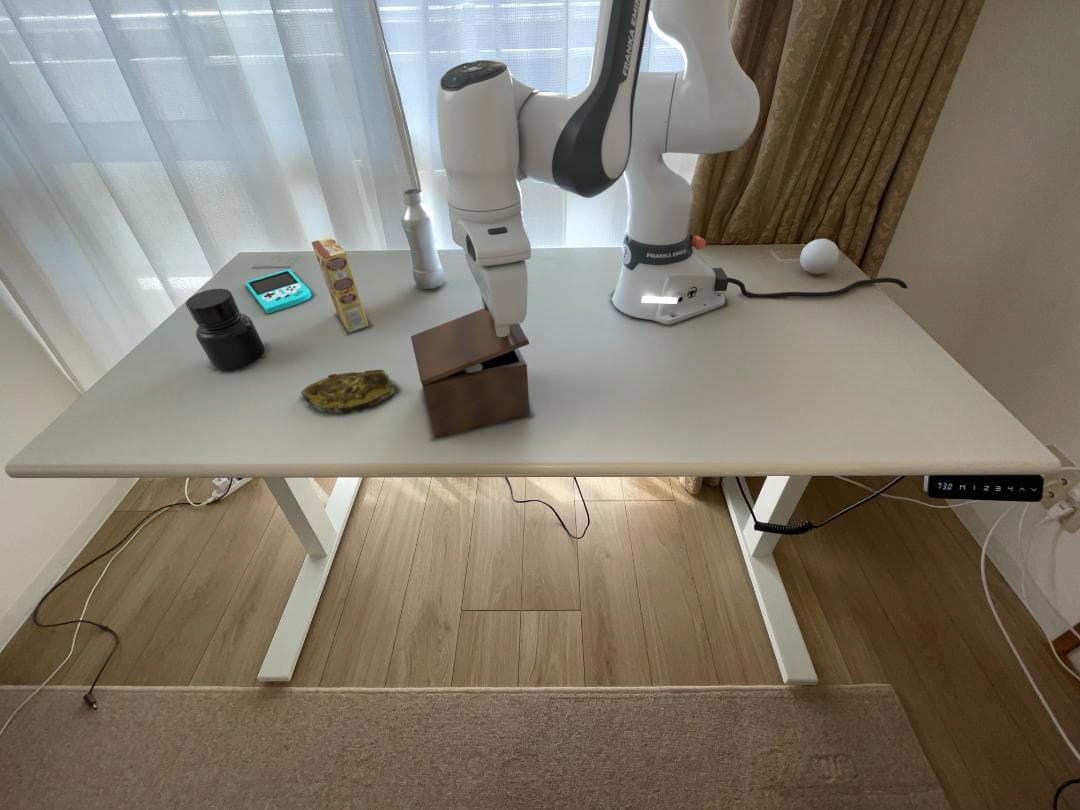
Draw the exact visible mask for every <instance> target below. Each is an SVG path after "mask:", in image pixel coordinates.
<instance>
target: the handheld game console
mask: <svg viewBox="0 0 1080 810" xmlns="http://www.w3.org/2000/svg"><path fill="white" fill-rule="evenodd" d="M245 286H246V287H247V289H248V290H249V291H250V292H251V294H252V295H253V297H254V298H255V299H256V300H257V302H258V303H259V305H260V306H261V307H260V308H262V309H263V310H264V311H265V313H266V314H272V313H275V312H278V311H281V310H284V309H287V308H290V307H293V306H296V305H298V304H301V303H304V302H306V301H308V300H309V299H310V298H312V293H311V290H310V289H309V288H308V287H307V285H305V283H304V282H303V281H302V280H301V279H299V277H298V276H297V275H296V274H295V273H294V272H293V271H292V270H291V269H290V268H287V269H284V270H281V271H277V272H274V273H271V274H267V275H264V276H261V277H257V278H254V279H250V280H247V281H245Z"/></svg>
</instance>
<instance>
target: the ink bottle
mask: <svg viewBox="0 0 1080 810" xmlns="http://www.w3.org/2000/svg"><path fill="white" fill-rule="evenodd" d="M185 307H186V308H187V310H188V312H189V313H190V315H191V317H192V319H193V321H194V322H195V323H196V325H198V326H197V328H196V330H195V337H196V340H197V341H198V343H199V344H200V346H201V348H202V349H203V351H204V353H205V355H206V356H207V358H208V360H209V361H210V363H211V365H212V366H213V367H214V368H216V369H217V370H220V371H234V370H235V371H236V370H240V369H243V368H246V367H248V366H251V365H252V364H254V363H256V362H258V361H259V360H260V359H261V358H262V357H263V356H264V355H265V351H266V348H265V345H264V344H263V341H262V338H261V336H260V335H259V332H258V330H257V329H256V326H255V324H254V322H253V320H252V319H251V317H250V316H248V315H247V314H245V313H241V312H240V309H239V306H238V304H237V302H236V299H235V298H234V296H233V294H232V292H231V291H230V290H229V289H226V288H211V289H207V290H203V291H200V292H198V293H195V294H194V295H192V296H190V297H189V298H188V299H187V300H186V301H185Z"/></svg>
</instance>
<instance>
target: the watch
mask: <svg viewBox="0 0 1080 810" xmlns="http://www.w3.org/2000/svg"><path fill="white" fill-rule="evenodd" d="M481 370H483V367H482V365H481V364H477V365H474V366H472V367H469V368H467V369H464V371H465V374H467V373H471V372H476V371H481Z"/></svg>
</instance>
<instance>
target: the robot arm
mask: <svg viewBox="0 0 1080 810" xmlns="http://www.w3.org/2000/svg"><path fill="white" fill-rule="evenodd" d="M729 9H730V0H599V12H598V20H597V26H596V33H595V41H594V46H593V53H592V59H591V66H590V72H589V79H588V83H587V85H586V86H585V88H584V89H583V90H582V91H581V92H580V93H578V94H576V95H575V94H567V93H557V92H549V91H547V90H546V91H545V90H541V89H540V90H538V89H536V88H535V87H532V86H529V85H527V84H525V83H523V82H522V81H520V80H519V79H517V78H516V77H515V76H514V75H513V74H512V73H511V72H510V68H509V67H508V65H507V64H506V63H504V62H503V61H498V60H494V59H480V60H476V61H471V62H470V61H468V62H464V63H461V64H458V65H456V66H454V67H452V68H450V69H449V70H447V71H446V72H445V73H444V74H443V75H442V76H441V78H440V79H439V83H438V87H437V93H436V94H437V96H436V115H437V116H436V119H437V120H436V121H437V132H438V141H439V150H440V158H441V163H442V166H443V168H444V171H445V174H446V176H447V182H448V189H447V194H446V196H447V197H446V198H447V199H446V200H447V206H448V207H447V208H448V213H449V215H448V216H449V222H450V227H451V236H452V240H453V242H454V243H455V244H456V245H457V246H459V247H461V248H462V249H463V251H464V256H465V261H466V264H467V266H468V268H469V271H470V273H471V274H472V276H473V279H474V281H475V283H476V285H477V287H478V289H479V292H480V297H481V305H482V306H483V308H484V309H485V310H486V311H489V310H490V312H491V314H492V316H493V318H494V320H495V321H494V330H495V332H496V334H497V336H498V337H504V336H508V335H509V333H510V329H509V325H514V324H522V323H524V321H525V319H526V317H527V313H528V290H529V289H528V287H529V286H528V283H529V281H528V277H529V276H528V268H527V267H528V266H527V263H526V260H530V259H531V257H532V245H531V241H530V239H529V236H528V233H527V231H526V230H527V229H526V227H525V225H524V224H525V222H524V213H523V199H522V191H521V187H520V183H521V181H523V180H526V179H527V180H529V181H532V182H536V183H539V184H540V183H541V184H544V185H547V186H552V187H557V188H560V189H561V190H563V191H566V192H568V193H571V194H574V195H577V196H580V197H582V198H585V199H590V198H595V197H597V196H598V195H600V194H602V193H604V192H605V191H607V190H608V189H610V188H611V187H612V186H614V185H615V183H616V182H618V181H619V179H620V178H621V177H622V176H624V179H625V182H626V188H627V223H626V229H625V230H624V232H623V240H622V248H621V249H622V251H621V262H622V264H621V270H620V273H619V278H618V281H617V284H616V288H615V290H614V292H613V295H612V297H611V299H612V304H613V305H614V307H615V308H616V309H617V310H618V311H620V312H621V313H622V314H625V315H628V316H630V317H633V318H638V319H641V320H642V319H643V320H649V321H655V322H657V323H660V324H663V325H667V326H668V325H673V324H676V323H679V322H681V321H684V320H687V319H690V318H692V317H695V316H698V315H701V314H704V313H707V312H709V311H712V310H715V309H718V308H721V307H723V306H725V304H726V297H725V295H724V293H723V292H726V291H727V289H728V285H729V283H730V284H734V285H736V286H738V287H739V288H740V293H741V294H742V295H743V296H745V297H748V298H756V299H757V298H758V299H759V298H760V299H761V298H762V299H774V298H786V297H789V298H790V297H798V298H800V297H801V298H803V297H806V298H821V297H823V298H824V297H825V298H826V297H835V296H839V295H842V294H845V293H847V292H849V291H851V290H852V289H854V288H856V287H859V286H864V285H873V284H881V283H893V284H896V285H898V286H900V287H901V289H908V288H909V287H908V285H907V284H906V282H905V281H903V280H901V279H899V278H895V277H879V278H870V279H862V280H857V281H855V282H853V283H850V284H849V285H847V286H845V287H843V288H841V289H836V290H832V291H783V292H772V293H771V292H770V293H753V292H751V291H748V290H747V288H746V285H745V283H744V282H743V281H741V280H739V279H737V278H733V277H729V276H728V275H727V274H726V272H725V270H724V269H723V268H722V267H712V266H711V265H710V264H709V263H708V262H707V261H706V260H705V259H704V258H702V257H701V256H700V255H699V254H697V252H695V251H694V250H693V247H694V248H695V249H696V250H698V251H700V250H703V249H704V248H705V246H706V244H707V242H706V240H705V239H704V238H702V237H701V236H700V235H695V236H694V234H693V233H692V232H691V231H689V227H690V221H691V215H692V211H693V205H694V199H695V198H694V190H693V188H692V187H691V185H690V183H689V182H688V180H686V179H685V178H684V177H683V176H682V175H680V174H678V173H677V172H675V171H674V170H672V169H671V168H669V167H668V166H667V164H666V163H665V160H664V158H663V155H664V154H667V153H669V154H686V155H687V154H689V155H714V154H715V155H716V154H720V153H727V152H731V151H737V150H739V148H741V147H742V146H743V145H744V144H745V143H746V142H747V141H748V140H749V138H751V136H752V134H753V133H754V131H755V129H756V126H757V123H758V120H759V118H760V112H761V99H760V94H759V91H758V89H757V86H756V84H755V82H754V81H753V80H752V79H751V78H750V76H748V75H747V73H746V72H745V71H744V70H743V68H742V67H741V65H740V64H739V61H738V60H737V58H736V55H735V52H734V50H733V46H732V43H731V38H730V29H729ZM648 23H649V25H650V28H651V29H652V31H653V32H654V33H655V35H657V36H658V37H659V38H660V39H662V40H663V41H665V42H666V43H668V44H669V45H670V46H673V47H674V48H675V49H677V50H679V52H680V53H681V54H682V56H683V61H684V67H683V69H682V70H680V71H677V72H671V71H670V72H668V71H667V72H665V71H664V72H663V71H660V72H659V71H640V69H641V63H642V56H643V51H644V46H645V40H646V34H647V29H648V28H647V27H648ZM483 297H484V299H485V302H486V304H487V306H488V308H489V310H488V308H487V306H486V304H485V302H484V300H483Z"/></svg>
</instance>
